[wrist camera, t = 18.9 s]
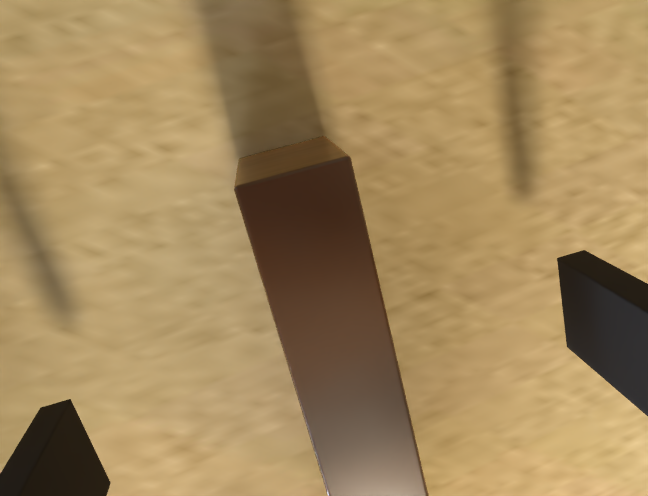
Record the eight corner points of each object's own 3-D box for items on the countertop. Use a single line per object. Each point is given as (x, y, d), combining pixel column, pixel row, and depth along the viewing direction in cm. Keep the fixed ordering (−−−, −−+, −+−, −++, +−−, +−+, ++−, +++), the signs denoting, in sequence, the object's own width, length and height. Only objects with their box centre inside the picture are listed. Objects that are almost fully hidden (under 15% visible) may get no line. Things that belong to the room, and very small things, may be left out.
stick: (237, 158, 15) (232, 186, 11) (325, 134, 15) (350, 155, 11) (338, 496, 19) (360, 603, 15) (408, 476, 19) (447, 576, 15)
